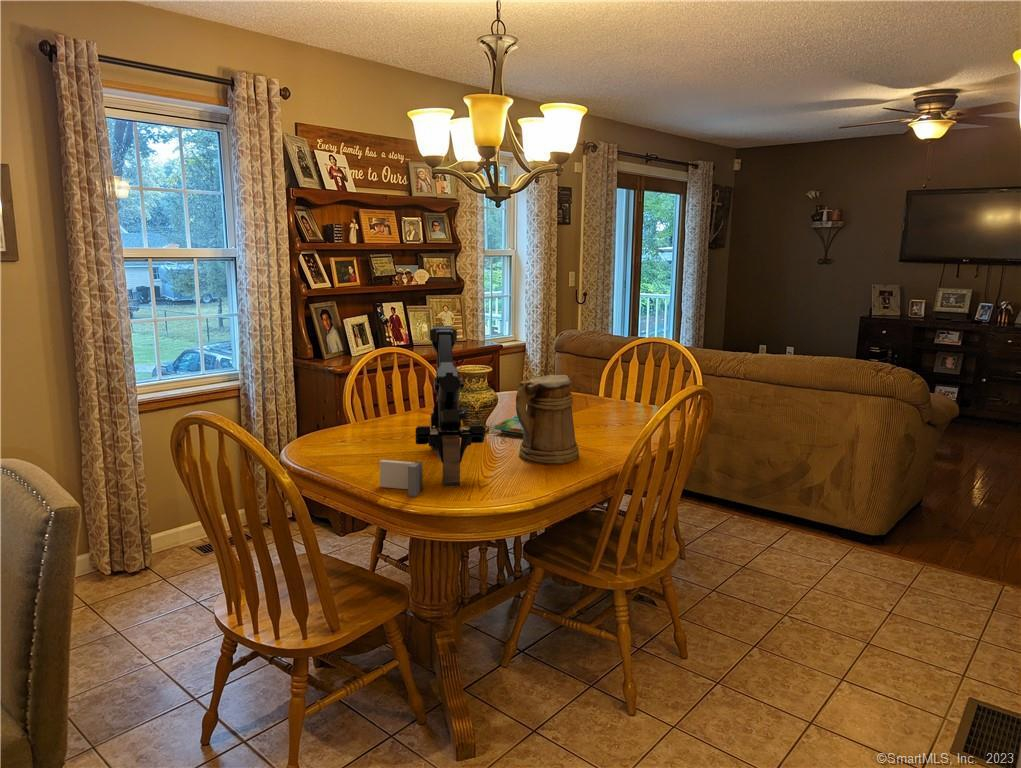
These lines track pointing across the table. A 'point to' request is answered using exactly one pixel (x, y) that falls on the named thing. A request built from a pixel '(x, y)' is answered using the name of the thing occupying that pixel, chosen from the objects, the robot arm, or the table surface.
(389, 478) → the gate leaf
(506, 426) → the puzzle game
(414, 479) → the gray upright block
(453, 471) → the doorstop post
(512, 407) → the table surface
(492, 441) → the table surface
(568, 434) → the tankard
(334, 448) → the table surface
